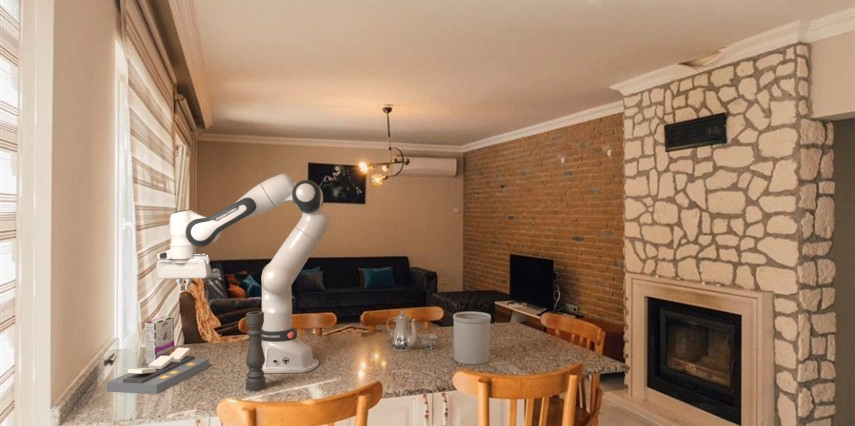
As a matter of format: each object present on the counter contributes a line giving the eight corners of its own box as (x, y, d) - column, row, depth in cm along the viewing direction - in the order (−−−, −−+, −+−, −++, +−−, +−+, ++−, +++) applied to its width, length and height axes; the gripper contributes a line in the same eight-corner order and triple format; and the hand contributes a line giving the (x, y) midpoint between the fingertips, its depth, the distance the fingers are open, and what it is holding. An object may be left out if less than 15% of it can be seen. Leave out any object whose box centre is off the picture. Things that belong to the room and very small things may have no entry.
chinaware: (444, 351, 230) (446, 312, 231) (423, 356, 216) (425, 314, 217) (391, 342, 245) (393, 305, 246) (368, 347, 231) (370, 307, 232)
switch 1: (155, 372, 183) (155, 368, 183) (141, 373, 176) (142, 369, 177) (142, 371, 184) (142, 367, 184) (127, 372, 177) (128, 369, 177)
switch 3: (190, 350, 203) (190, 348, 202) (179, 361, 196) (179, 359, 196) (178, 350, 204) (177, 347, 203) (167, 361, 197) (166, 358, 197)
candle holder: (248, 385, 182) (247, 311, 182) (267, 385, 182) (266, 311, 182) (243, 391, 176) (243, 315, 175) (263, 391, 176) (262, 314, 176)
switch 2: (174, 359, 193) (173, 356, 193) (161, 369, 186) (161, 365, 186) (161, 358, 194) (160, 355, 194) (148, 368, 187) (148, 365, 187)
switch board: (209, 366, 203) (209, 356, 203) (156, 394, 174) (156, 381, 174) (165, 364, 206) (165, 354, 206) (106, 391, 177) (106, 379, 177)
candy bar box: (164, 356, 218) (163, 315, 218) (175, 357, 217) (174, 316, 217) (144, 364, 207) (143, 321, 207) (155, 365, 206) (155, 322, 206)
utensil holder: (496, 357, 215) (495, 313, 215) (483, 367, 201) (483, 320, 201) (461, 353, 221) (461, 310, 221) (447, 362, 208) (447, 317, 207)
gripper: (213, 252, 203) (215, 288, 204) (163, 253, 206) (165, 289, 207) (204, 253, 197) (205, 291, 197) (152, 254, 200) (154, 291, 200)
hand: (184, 290), depth 202 cm, fingers closed
